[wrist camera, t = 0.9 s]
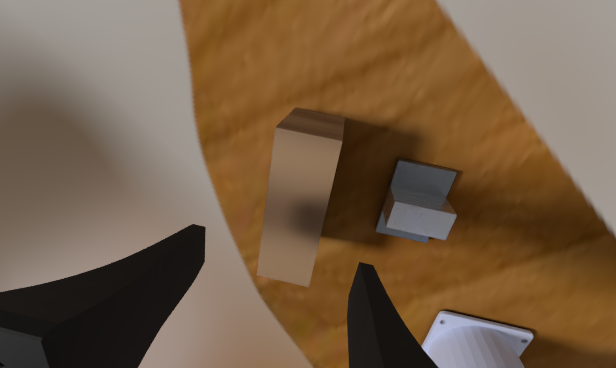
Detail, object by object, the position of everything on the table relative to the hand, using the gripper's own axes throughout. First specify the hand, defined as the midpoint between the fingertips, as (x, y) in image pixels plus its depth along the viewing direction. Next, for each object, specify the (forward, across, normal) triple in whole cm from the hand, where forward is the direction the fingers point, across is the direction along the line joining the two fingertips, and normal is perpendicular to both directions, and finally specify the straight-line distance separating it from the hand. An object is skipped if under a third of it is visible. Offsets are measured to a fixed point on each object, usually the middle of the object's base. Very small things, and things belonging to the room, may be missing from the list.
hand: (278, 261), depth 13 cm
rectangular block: (+10, 0, 0) cm, 10 cm away
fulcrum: (+10, -8, 0) cm, 13 cm away
